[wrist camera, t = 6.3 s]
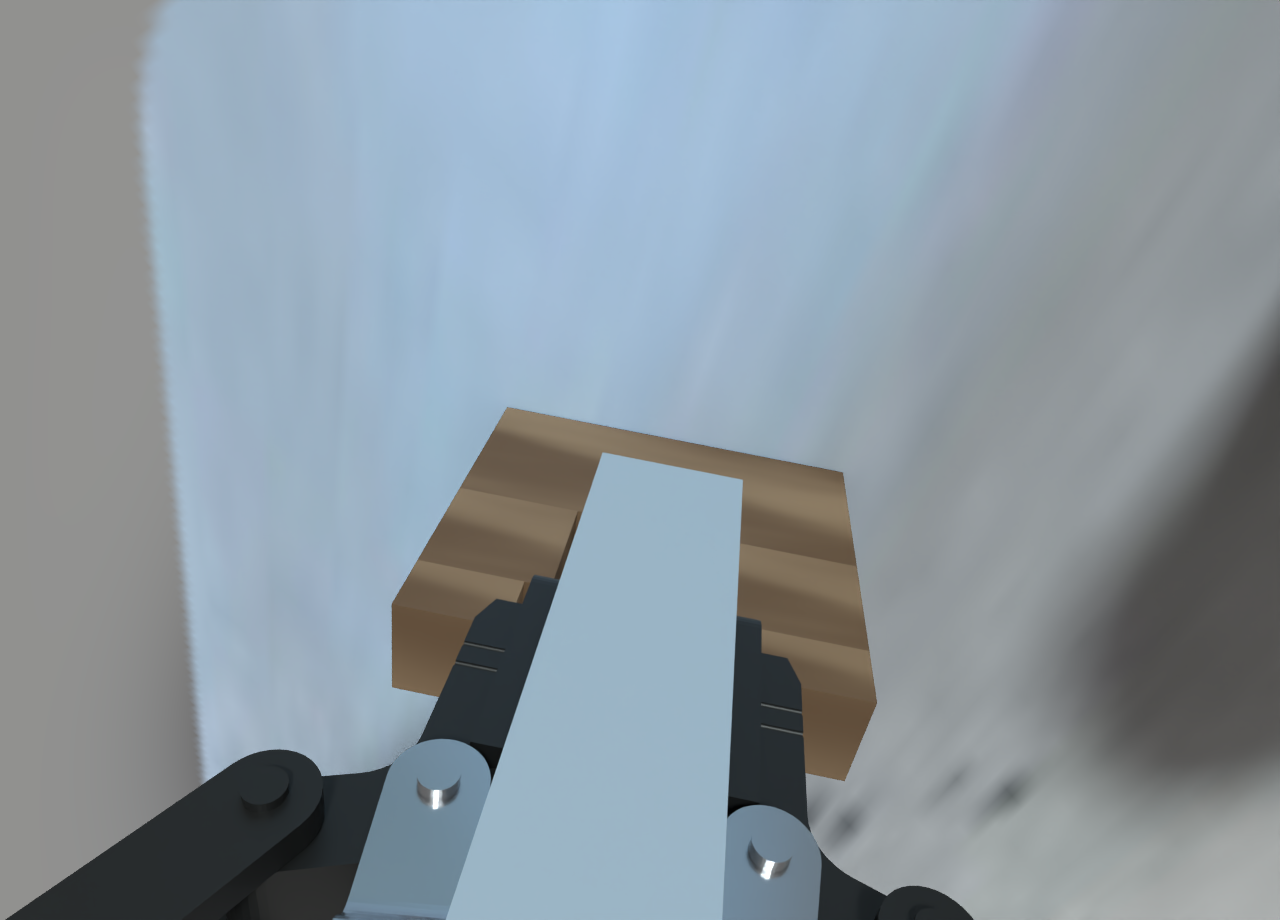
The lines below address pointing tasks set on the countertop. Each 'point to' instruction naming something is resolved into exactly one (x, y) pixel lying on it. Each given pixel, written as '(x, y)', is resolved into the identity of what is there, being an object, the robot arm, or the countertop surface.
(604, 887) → the pale grey upright slab
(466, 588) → the notched wooden block
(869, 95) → the countertop surface
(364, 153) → the countertop surface
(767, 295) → the countertop surface
